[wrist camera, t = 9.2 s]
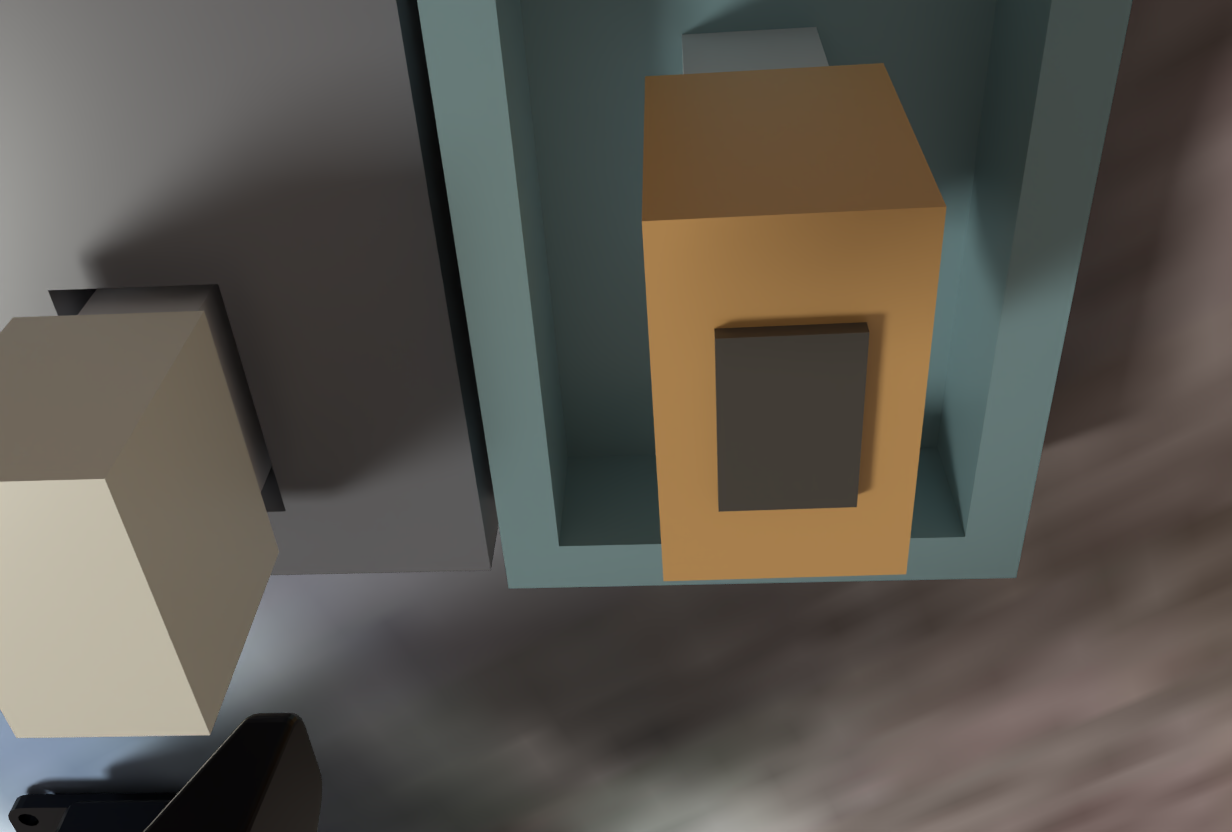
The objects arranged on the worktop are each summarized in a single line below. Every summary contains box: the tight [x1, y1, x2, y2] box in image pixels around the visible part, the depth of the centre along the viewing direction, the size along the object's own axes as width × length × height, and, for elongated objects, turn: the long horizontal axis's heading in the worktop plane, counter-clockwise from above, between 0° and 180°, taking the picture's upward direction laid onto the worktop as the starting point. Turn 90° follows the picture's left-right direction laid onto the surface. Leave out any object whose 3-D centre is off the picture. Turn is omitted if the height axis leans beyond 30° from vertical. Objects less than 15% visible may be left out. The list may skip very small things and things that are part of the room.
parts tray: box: [417, 0, 1133, 589], centre depth 18 cm, size 14×9×3 cm, turn 3°
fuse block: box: [0, 0, 498, 575], centre depth 18 cm, size 18×10×2 cm, turn 3°
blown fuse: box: [642, 27, 946, 581], centre depth 16 cm, size 5×3×7 cm, turn 4°
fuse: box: [0, 284, 279, 738], centre depth 19 cm, size 5×3×7 cm, turn 3°
